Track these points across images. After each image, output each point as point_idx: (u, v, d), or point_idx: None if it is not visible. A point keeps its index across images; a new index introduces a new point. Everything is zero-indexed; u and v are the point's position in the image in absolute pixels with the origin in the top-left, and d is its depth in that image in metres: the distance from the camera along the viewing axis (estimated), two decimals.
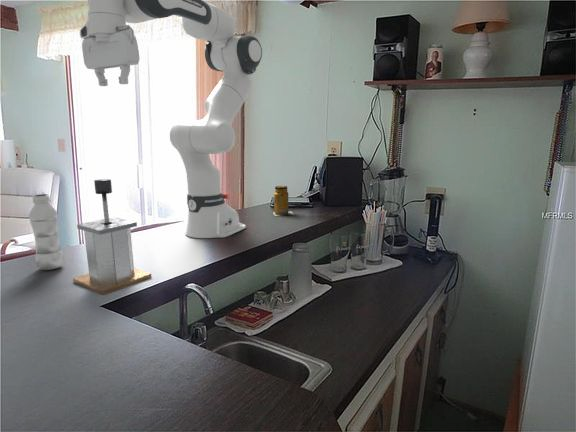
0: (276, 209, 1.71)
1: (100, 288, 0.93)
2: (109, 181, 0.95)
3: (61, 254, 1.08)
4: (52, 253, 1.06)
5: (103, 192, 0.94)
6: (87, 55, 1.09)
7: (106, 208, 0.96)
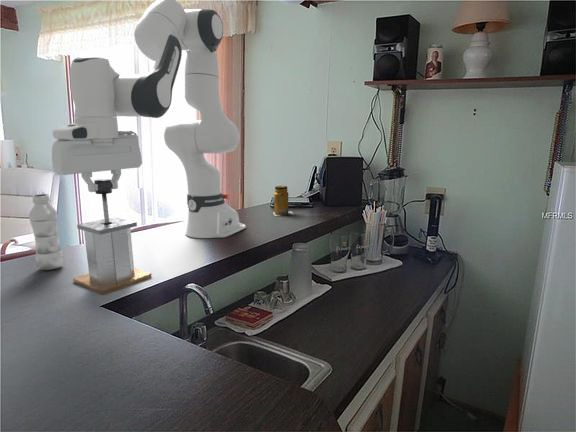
0: (276, 209, 1.71)
1: (100, 288, 0.93)
2: (109, 181, 0.95)
3: (61, 254, 1.08)
4: (52, 253, 1.06)
5: (103, 192, 0.94)
6: (69, 159, 0.87)
7: (106, 208, 0.96)
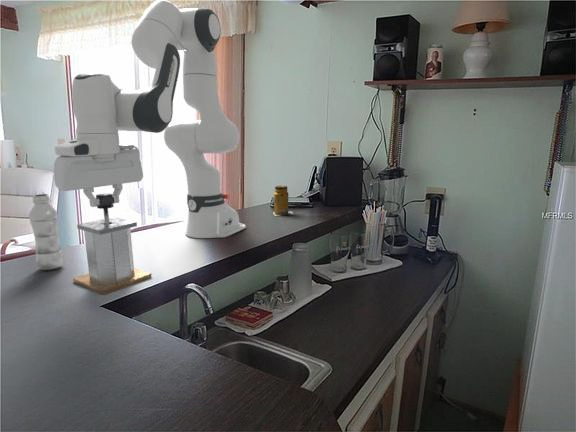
0: (276, 209, 1.71)
1: (100, 288, 0.93)
2: (110, 196, 0.96)
3: (61, 254, 1.08)
4: (52, 253, 1.06)
5: (105, 207, 0.95)
6: (71, 175, 0.87)
7: (107, 222, 0.97)
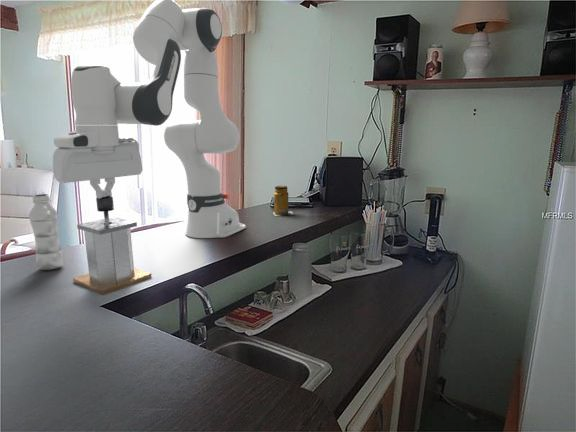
0: (276, 209, 1.71)
1: (100, 288, 0.93)
2: (111, 198, 0.96)
3: (61, 254, 1.08)
4: (52, 253, 1.06)
5: (105, 210, 0.95)
6: (70, 167, 0.87)
7: None
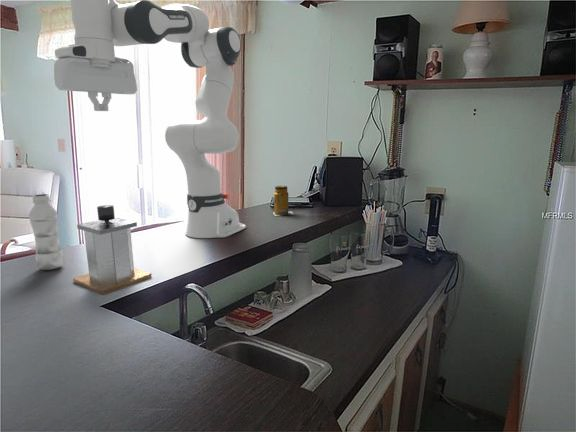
0: (276, 209, 1.71)
1: (100, 288, 0.93)
2: (112, 207, 0.96)
3: (61, 254, 1.08)
4: (52, 253, 1.06)
5: (106, 219, 0.96)
6: (70, 75, 0.95)
7: None
